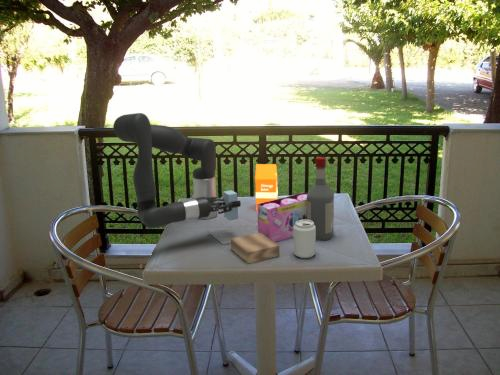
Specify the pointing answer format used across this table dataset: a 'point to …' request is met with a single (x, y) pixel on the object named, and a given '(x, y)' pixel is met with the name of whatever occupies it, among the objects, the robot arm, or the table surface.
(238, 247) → the wooden slab
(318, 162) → the liquor
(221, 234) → the mat
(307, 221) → the can
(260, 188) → the orange juice
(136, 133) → the robot arm
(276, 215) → the gum box
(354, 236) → the table surface
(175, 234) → the table surface
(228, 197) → the block
